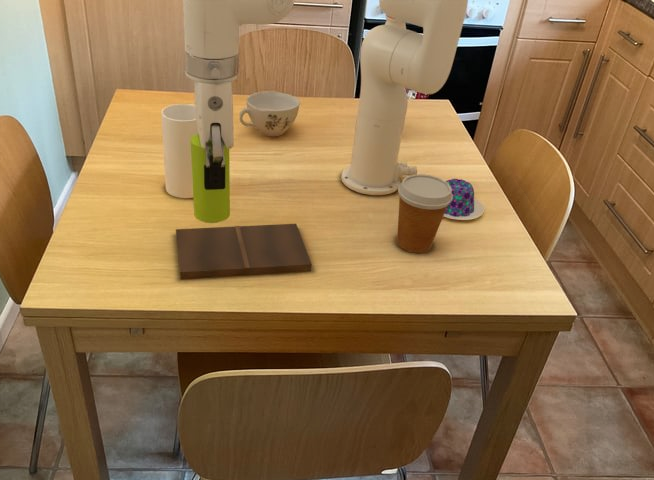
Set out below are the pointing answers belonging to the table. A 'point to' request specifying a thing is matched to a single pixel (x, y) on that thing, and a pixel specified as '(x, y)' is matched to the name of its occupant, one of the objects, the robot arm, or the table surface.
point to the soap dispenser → (208, 202)
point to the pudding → (463, 201)
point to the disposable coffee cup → (421, 211)
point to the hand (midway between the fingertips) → (212, 177)
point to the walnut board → (241, 251)
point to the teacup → (271, 112)
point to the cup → (178, 148)
